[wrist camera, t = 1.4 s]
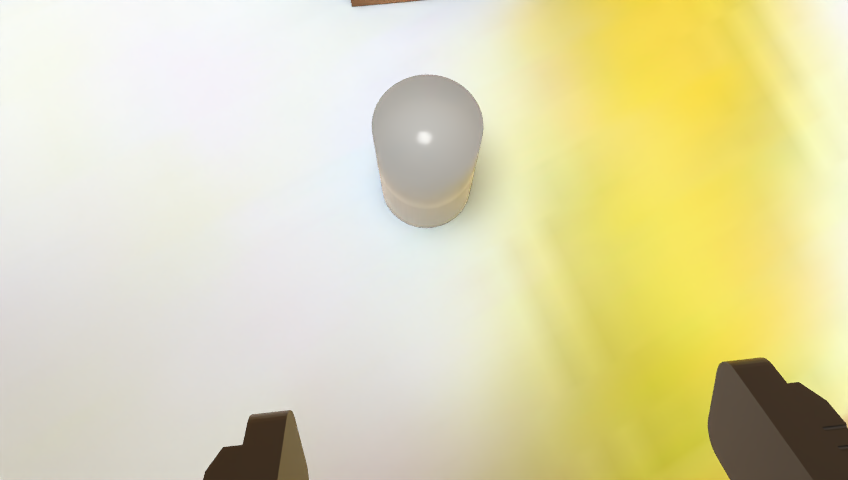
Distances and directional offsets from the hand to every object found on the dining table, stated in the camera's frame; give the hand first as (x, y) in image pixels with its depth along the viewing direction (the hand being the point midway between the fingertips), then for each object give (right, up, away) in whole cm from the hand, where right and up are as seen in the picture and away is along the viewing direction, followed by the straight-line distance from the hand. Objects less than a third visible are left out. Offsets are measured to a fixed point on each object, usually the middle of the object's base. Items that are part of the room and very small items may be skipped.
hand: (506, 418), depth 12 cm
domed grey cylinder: (-1, +6, +22) cm, 23 cm away
